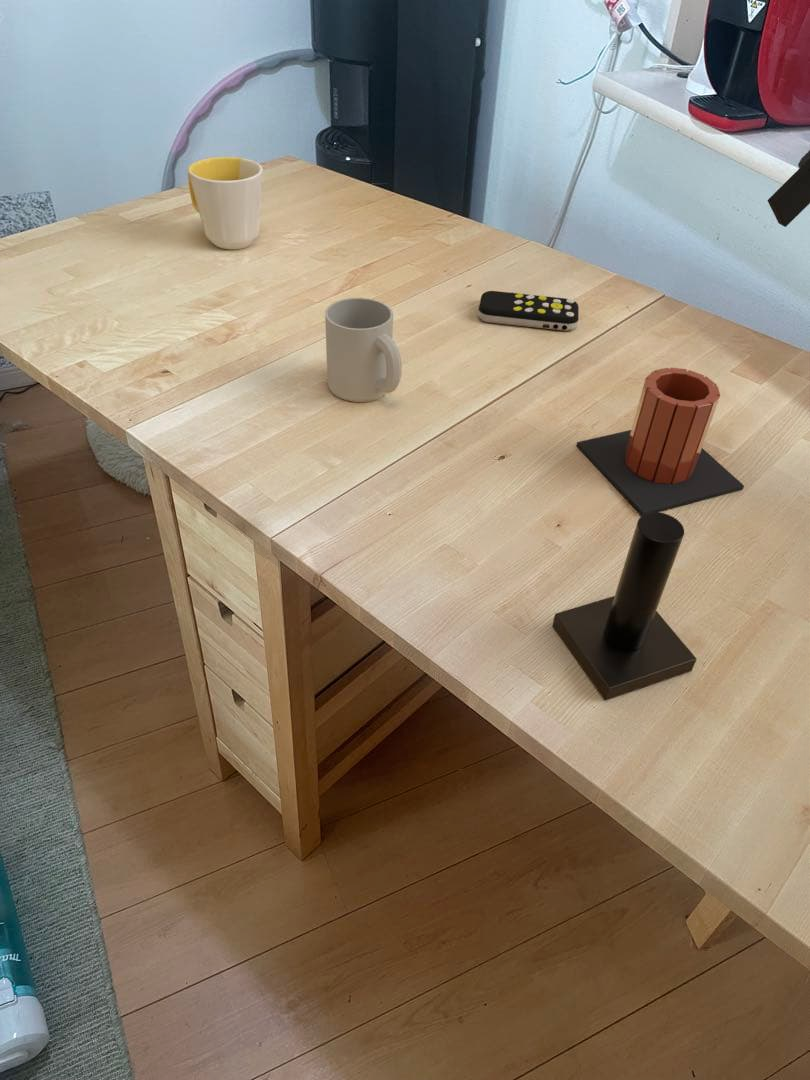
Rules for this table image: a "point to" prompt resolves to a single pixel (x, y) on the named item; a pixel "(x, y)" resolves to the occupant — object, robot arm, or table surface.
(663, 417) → the sleeve ring
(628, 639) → the post stand
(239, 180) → the mug
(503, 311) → the remote control
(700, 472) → the mat
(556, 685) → the table surface
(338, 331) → the cup
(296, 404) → the table surface
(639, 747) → the table surface
